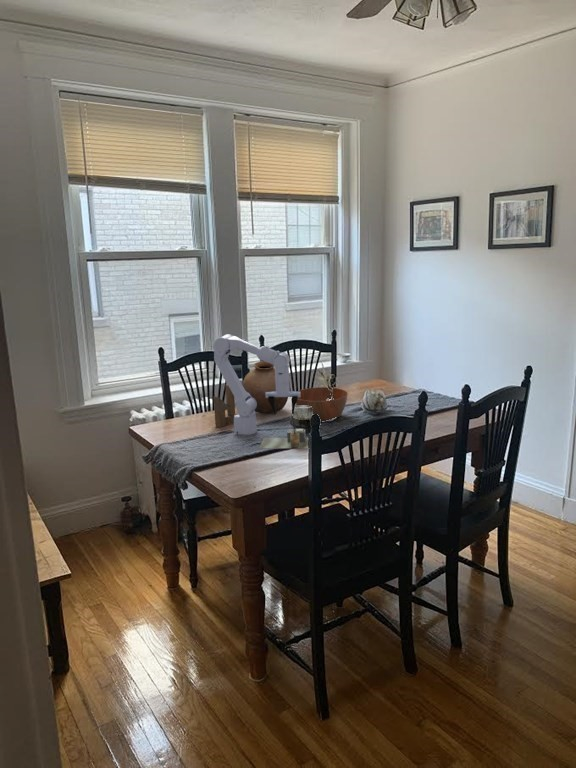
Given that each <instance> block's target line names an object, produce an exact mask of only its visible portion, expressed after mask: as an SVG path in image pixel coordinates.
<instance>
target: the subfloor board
mask: <svg viewBox="0 0 576 768" xmlns="http://www.w3.org/2000/svg"><path fill="white" fill-rule="evenodd" d="M308 438H309V437H306V439H305V442H300V444H299V447H292V446H291V442H287V437H283V438H282V437H264V438H263V439H262V441H261V444H260V446H259V449H309V448H308Z"/></svg>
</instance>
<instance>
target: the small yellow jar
mask: <svg viewBox="0 0 576 768" xmlns="http://www.w3.org/2000/svg"><path fill="white" fill-rule="evenodd" d="M293 429H294V432H293V433H290V441H291V446H292V447H299V444H300V438H299V433H297V432H296V429H297V428H293Z"/></svg>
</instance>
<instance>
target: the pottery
mask: <svg viewBox="0 0 576 768" xmlns="http://www.w3.org/2000/svg"><path fill="white" fill-rule="evenodd" d="M253 367H254V369H252V370H250V371H249V372H248V373H247V374H246V375H245V377H244V379H243V381H242V382H241V384H242V385H243V387H244V389H245V391H246V392H248V393H249V394H250V395H251V397H253V398H254V399H255V400H256V402H257V407H256V409H255V412H256V414H262V415H270V414H274V413H273V409H272V407H271V405H270V403H269V401H268V398H266V394H265V393H266V392H275V391H276V378H275V367H274V365H273V364H270V363H267V362H265V361H263V360H261V361H257V362H255V363H254V364H253ZM288 400H289V397H275V407H276V413H278V412H280V411H282V410H283V409H284V408H285V406H286V404H287V402H288Z"/></svg>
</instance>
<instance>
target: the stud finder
mask: <svg viewBox="0 0 576 768" xmlns="http://www.w3.org/2000/svg"><path fill="white" fill-rule="evenodd" d="M294 429H296V432H297V433H299V438H300V442H305V439H306V438H307V437H306V428H293V429H292V428H291V429H287V431H286V438H287V442H291V441H290V433H293V432H294Z"/></svg>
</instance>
